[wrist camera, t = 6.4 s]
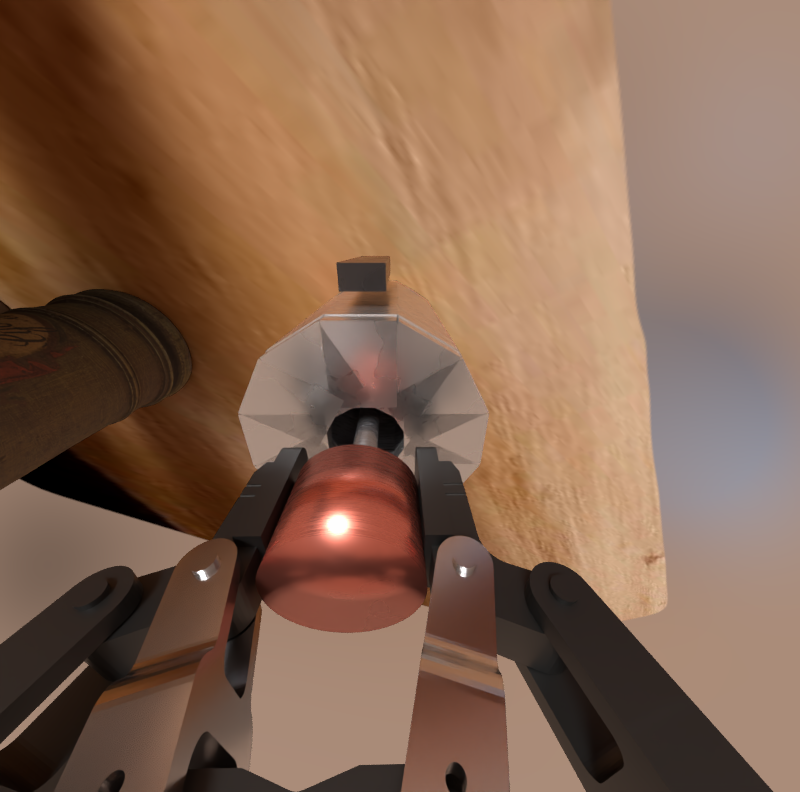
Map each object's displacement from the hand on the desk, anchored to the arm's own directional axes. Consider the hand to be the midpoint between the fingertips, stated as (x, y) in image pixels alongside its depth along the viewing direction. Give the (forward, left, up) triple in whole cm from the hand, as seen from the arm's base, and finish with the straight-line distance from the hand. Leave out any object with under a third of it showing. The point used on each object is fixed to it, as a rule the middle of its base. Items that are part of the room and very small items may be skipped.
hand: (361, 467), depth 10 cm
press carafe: (0, 0, -14) cm, 14 cm away
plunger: (0, 0, -13) cm, 13 cm away
